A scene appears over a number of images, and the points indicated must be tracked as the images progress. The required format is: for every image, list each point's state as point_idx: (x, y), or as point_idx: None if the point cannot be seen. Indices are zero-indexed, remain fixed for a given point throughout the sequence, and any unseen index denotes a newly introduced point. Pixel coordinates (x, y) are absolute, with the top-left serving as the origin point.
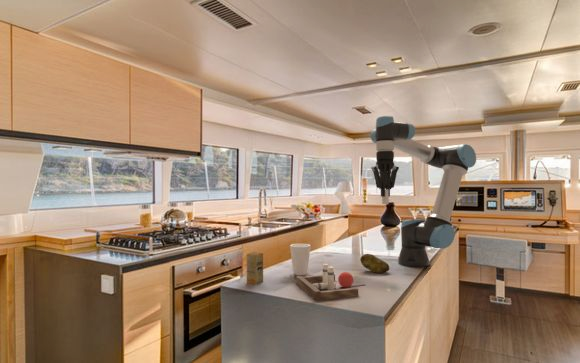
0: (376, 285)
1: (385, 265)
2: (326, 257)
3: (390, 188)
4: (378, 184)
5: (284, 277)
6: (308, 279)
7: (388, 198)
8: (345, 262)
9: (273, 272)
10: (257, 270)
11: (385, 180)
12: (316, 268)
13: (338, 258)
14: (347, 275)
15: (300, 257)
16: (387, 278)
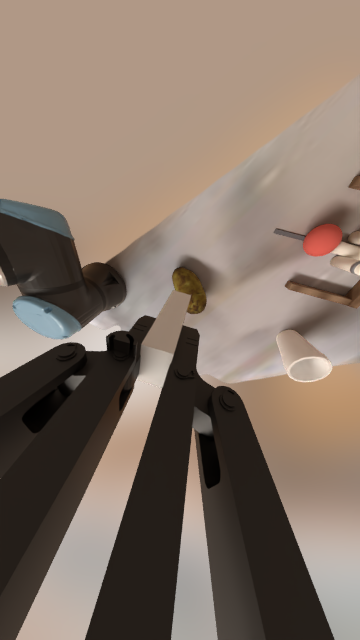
0: (260, 217)
1: (183, 271)
2: None
3: (122, 336)
4: (249, 443)
5: (325, 334)
6: (337, 295)
7: (165, 304)
8: None
9: None
10: None
11: (83, 488)
12: (246, 342)
13: None
14: (337, 230)
15: (314, 347)
16: (206, 242)
